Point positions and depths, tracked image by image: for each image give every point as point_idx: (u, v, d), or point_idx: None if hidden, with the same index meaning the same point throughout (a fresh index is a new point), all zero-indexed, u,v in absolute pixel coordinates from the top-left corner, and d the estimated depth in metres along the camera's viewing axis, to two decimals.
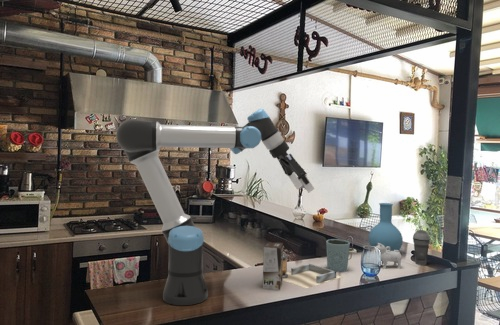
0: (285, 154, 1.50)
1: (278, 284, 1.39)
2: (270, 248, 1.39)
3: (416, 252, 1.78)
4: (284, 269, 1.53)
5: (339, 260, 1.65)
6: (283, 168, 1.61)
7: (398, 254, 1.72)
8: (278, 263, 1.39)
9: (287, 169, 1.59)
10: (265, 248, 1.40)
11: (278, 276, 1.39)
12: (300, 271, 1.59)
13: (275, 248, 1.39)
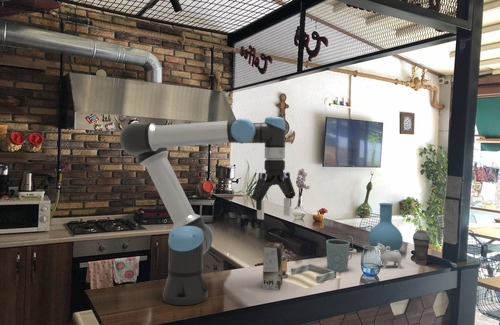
0: (267, 171, 1.40)
1: (278, 284, 1.39)
2: (270, 248, 1.39)
3: (416, 252, 1.78)
4: (284, 269, 1.53)
5: (339, 260, 1.65)
6: None
7: (398, 254, 1.72)
8: (278, 263, 1.39)
9: (282, 190, 1.47)
10: (265, 248, 1.40)
11: (278, 276, 1.39)
12: (300, 271, 1.59)
13: (275, 248, 1.39)
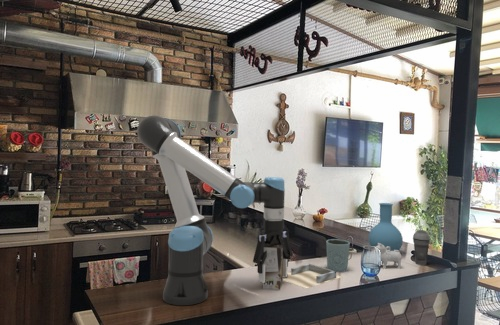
0: (266, 232, 1.41)
1: (278, 284, 1.39)
2: (270, 248, 1.39)
3: (416, 252, 1.78)
4: None
5: (339, 260, 1.65)
6: None
7: (398, 254, 1.72)
8: (278, 263, 1.39)
9: None
10: (265, 248, 1.40)
11: (278, 276, 1.39)
12: (300, 271, 1.59)
13: (275, 248, 1.39)
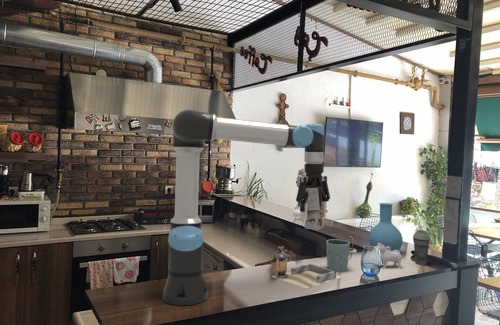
0: (307, 175, 1.52)
1: (319, 221, 1.50)
2: (312, 188, 1.50)
3: (416, 252, 1.78)
4: (284, 269, 1.53)
5: (339, 260, 1.65)
6: (322, 190, 1.60)
7: (398, 254, 1.72)
8: (319, 202, 1.50)
9: None
10: (307, 188, 1.51)
11: (319, 214, 1.50)
12: (300, 271, 1.59)
13: (316, 188, 1.50)
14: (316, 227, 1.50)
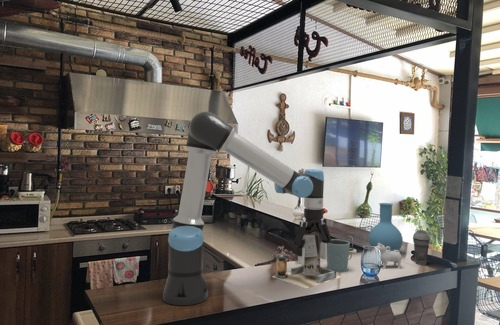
0: (307, 220, 1.52)
1: (318, 268, 1.50)
2: (308, 235, 1.50)
3: (416, 252, 1.78)
4: (284, 269, 1.53)
5: (339, 260, 1.65)
6: None
7: (398, 254, 1.72)
8: (317, 248, 1.49)
9: (319, 235, 1.58)
10: (304, 236, 1.50)
11: (317, 260, 1.50)
12: (300, 271, 1.59)
13: (313, 235, 1.49)
14: (315, 273, 1.50)
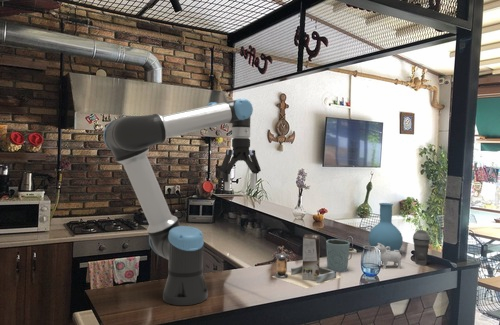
0: (234, 148, 1.58)
1: (317, 273, 1.49)
2: (309, 239, 1.50)
3: (416, 252, 1.78)
4: (284, 269, 1.53)
5: (339, 260, 1.65)
6: (252, 164, 1.67)
7: (398, 254, 1.72)
8: (317, 253, 1.49)
9: (248, 165, 1.64)
10: (304, 239, 1.50)
11: (317, 265, 1.49)
12: (300, 271, 1.59)
13: (314, 239, 1.50)
14: (313, 278, 1.50)
